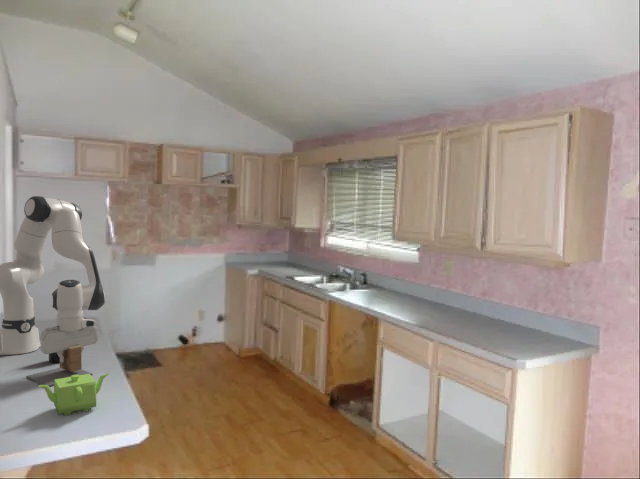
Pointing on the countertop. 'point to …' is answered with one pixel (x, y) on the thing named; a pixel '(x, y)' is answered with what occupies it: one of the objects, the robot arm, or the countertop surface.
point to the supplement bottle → (54, 358)
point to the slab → (72, 358)
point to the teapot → (74, 393)
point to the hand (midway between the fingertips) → (70, 360)
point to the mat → (54, 375)
